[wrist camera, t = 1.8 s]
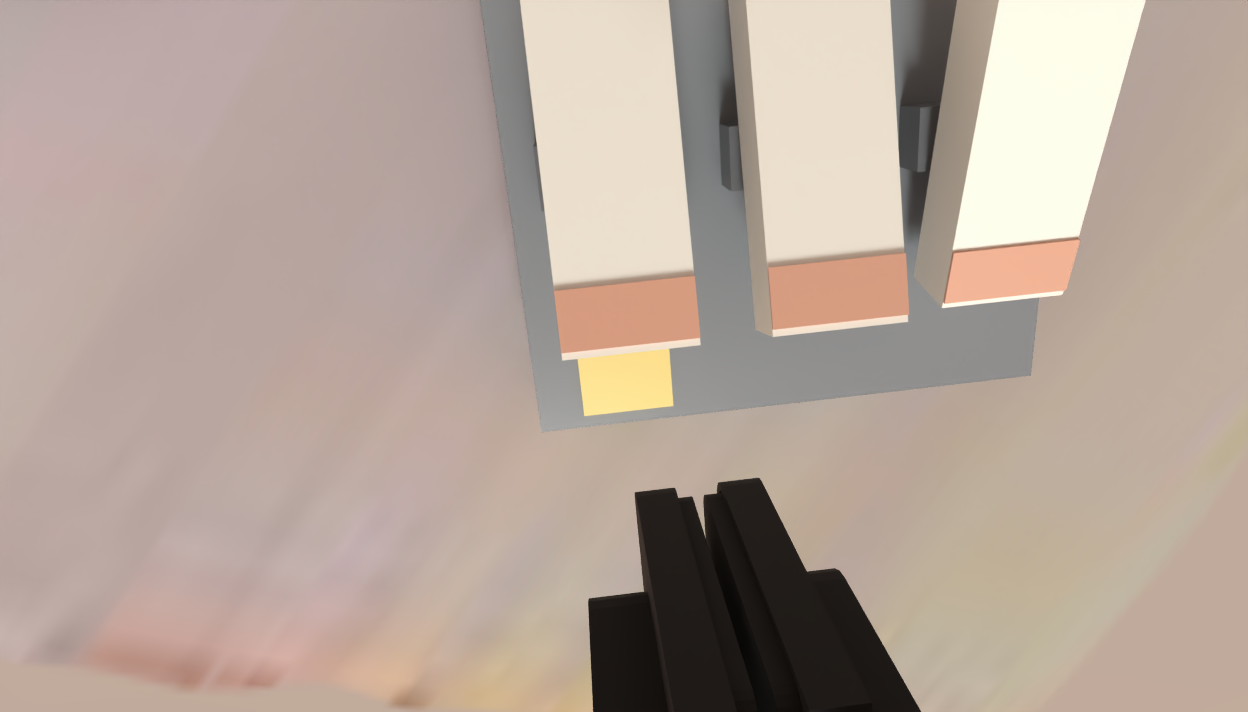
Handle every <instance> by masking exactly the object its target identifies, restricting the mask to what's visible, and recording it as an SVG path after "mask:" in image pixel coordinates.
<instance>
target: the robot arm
mask: <svg viewBox="0 0 1248 712" xmlns="http://www.w3.org/2000/svg"><path fill="white" fill-rule="evenodd" d="M635 503H636V514H637V524H638V534H639V544H640V554H641V565H642V575H643V585H644V592H638V593H630V594H622V595H614V596H606V597H598V598H590V599H589V601H588V606H589V629H590V651H591V673H592V694H593V712H921V711H920V709H919V707H918V705H917V704H916V702H915V700H914V698H913V697H912V695H911V693H910V691H909V690H908V688H907V686H906V684H905V683H904V681H903V679H902V677H901V676H900V674H899V672H898V670H897V669H896V667H895V665H894V663H893V662H892V660H891V658H890V656H889V655H888V653H887V651H886V649H885V648H884V646H883V644H882V642H881V641H880V639H879V637H878V635H877V634H876V632H875V630H874V628H873V626H872V625H871V623H870V621H869V619H868V618H867V616H866V614H865V612H864V611H863V609H862V607H861V605H860V604H859V602H858V600H857V598H856V597H855V595H854V593H853V591H852V590H851V588H850V586H849V584H848V583H847V581H846V579H845V578H844V576H843V575H842V573H841V572H840V571H839V570H837V569H835V568H834V569H825V570H817V571H809V572H807V571H806V569H805V567H804V565H803V563H802V561H801V559H800V557H799V555H798V553H797V551H796V549H795V547H794V545H793V543H792V541H791V539H790V537H789V535H788V533H787V531H786V529H785V527H784V525H783V523H782V521H781V519H780V517H779V515H778V513H777V511H776V509H775V507H774V505H773V503H772V501H771V499H770V497H769V495H768V493H767V491H766V489H765V487H764V485H763V483H762V481H761V480H760V478H753V479H744V480H736V481H727V482H719V483H718V485H717V494H709V495H704V518H705V534H706V539H705V535H704V532H703V529H702V526H701V522H700V519H699V516H698V513H697V510H696V506H695V503H694V500H693V497H684V498H678V496H677V492H676V489H675V488H668V489H659V490H651V491H643V492H635Z"/></svg>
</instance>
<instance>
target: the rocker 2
mask: <svg viewBox="0 0 1248 712" xmlns="http://www.w3.org/2000/svg"><path fill="white" fill-rule="evenodd" d="M728 4H729V16H730V28H731V40H732V53H733V65H734V77H735V89H736V101H737V113H738V125H739V137H740V149H741V161H742V173H743V185H744V197H745V209H746V221H747V233H748V245H749V257H750V269H751V281H752V293H753V306H754V318H755V330H757V331H760V332H762V333H764V334H767V335H769V336H772V337H778V336H787V335H796V334H805V333H814V332H822V331H831V330H840V329H849V328H858V327H867V326H876V325H885V324H894V323H903V322H908V315H909V298H908V281H907V263H906V253H904V238H903V220H902V202H901V185H900V167H899V149H898V131H897V113H896V96H895V78H894V60H893V42H892V24H891V6H890V0H728Z"/></svg>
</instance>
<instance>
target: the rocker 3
mask: <svg viewBox="0 0 1248 712" xmlns="http://www.w3.org/2000/svg"><path fill="white" fill-rule="evenodd" d="M1144 4H1145V0H957V3H956V10H955V16H954V22H953V29H952V35H951V41H950V48H949V54H948V61H947V67H946V73H945V80H944V86H943V92H942V99H941V105H940V111H939V118H938V124H937V130H936V137H935V143H934V150H933V156H932V162H931V169H930V175H929V181H928V188H927V194H926V200H925V207H924V213H923V219H922V226H921V232H920V238H919V245H918V251H917V258H916V264H915V270H914V277H915V279H916V280H917V281H918V282H919V283H920V284H921V285H922V286H923V288H924V289H925V290H926V291H927V292H928V293H929V294H930V295H931V296H932V298H933V299H934V300H935V301H936V302H937V303H938V304H939V305H940V307H941V308H948V307H957V306H966V305H975V304H983V303H992V302H1001V301H1010V300H1019V299H1028V298H1037V297H1046V296H1055V295H1062V294H1063V291H1064V290H1066V288H1067V285H1068V281H1069V278H1070V274H1071V271H1072V267H1073V264H1074V260H1075V257H1076V253H1077V250H1078V246H1079V243H1080V239H1078V237H1079V234H1080V230H1081V226H1082V223H1083V219H1084V216H1085V212H1086V209H1087V205H1088V202H1089V198H1090V195H1091V191H1092V188H1093V184H1094V181H1095V177H1096V173H1097V170H1098V166H1099V163H1100V159H1101V156H1102V152H1103V149H1104V145H1105V142H1106V138H1107V135H1108V131H1109V127H1110V124H1111V120H1112V117H1113V113H1114V110H1115V106H1116V103H1117V99H1118V96H1119V92H1120V89H1121V85H1122V81H1123V78H1124V74H1125V71H1126V67H1127V64H1128V60H1129V57H1130V53H1131V50H1132V46H1133V43H1134V39H1135V36H1136V32H1137V28H1138V25H1139V21H1140V18H1141V14H1142V11H1143V7H1144Z"/></svg>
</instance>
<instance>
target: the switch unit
mask: <svg viewBox="0 0 1248 712" xmlns="http://www.w3.org/2000/svg"><path fill="white" fill-rule="evenodd" d="M956 3H957V0H890V6H891V24H892V42H893V60H894V78H895V96H896V113H897V131H898V149H899V167H900V185H901V202H902V220H903V238H904V253H906V263H907V281H908V298H909V315H908V322H903V323H894V324H885V325H876V326H867V327H858V328H849V329H840V330H831V331H822V332H814V333H805V334H796V335H787V336H778V337H772V336H769V335H767V334H764V333H762V332H760V331H757V330H755V318H754V306H753V293H752V281H751V269H750V257H749V245H748V233H747V221H746V209H745V197H744V185H743V173H742V161H741V149H740V137H739V125H738V113H737V101H736V89H735V77H734V65H733V53H732V40H731V28H730V16H729V4H728V0H669V9H670V20H671V31H672V42H673V52H674V63H675V74H676V85H677V95H678V106H679V117H680V128H681V138H682V149H683V160H684V171H685V182H686V192H687V203H688V214H689V225H690V235H691V246H692V257H693V268H694V276H695V283H696V294H697V305H698V315H699V326H700V337H701V338H700V343H701V345H698V346H689V347H680V348H671V349H662V350H653V351H644V352H635V353H626V354H617V355H609V356H600V357H591V358H582V359H573V360H564V361H562V354H561V347H560V339H559V330H558V322H557V313H556V305H555V296H554V286H553V278H552V269H551V261H550V252H549V244H548V235H547V227H546V218H545V210H544V201H543V193H542V184H541V176H540V167H539V159H538V150H537V142H536V133H535V125H534V116H533V108H532V99H531V91H530V82H529V74H528V65H527V57H526V48H525V40H524V31H523V23H522V14H521V6H520V0H480V4H481V11H482V18H483V25H484V32H485V39H486V46H487V53H488V60H489V67H490V74H491V81H492V88H493V95H494V102H495V109H496V116H497V123H498V130H499V137H500V144H501V151H502V158H503V165H504V172H505V179H506V186H507V193H508V200H509V207H510V214H511V221H512V228H513V235H514V242H515V249H516V256H517V263H518V270H519V277H520V285H521V292H522V299H523V306H524V313H525V320H526V327H527V334H528V341H529V348H530V355H531V362H532V369H533V376H534V383H535V390H536V397H537V404H538V411H539V418H540V425H541V432H548V431H557V430H565V429H574V428H583V427H591V426H600V425H608V424H617V423H626V422H634V421H643V420H651V419H660V418H669V417H677V416H686V415H695V414H703V413H712V412H720V411H729V410H738V409H746V408H755V407H764V406H772V405H781V404H789V403H798V402H807V401H815V400H824V399H833V398H841V397H850V396H858V395H867V394H876V393H884V392H893V391H902V390H910V389H919V388H927V387H936V386H945V385H953V384H962V383H971V382H979V381H988V380H996V379H1005V378H1014V377H1022V376H1031V368H1032V359H1033V349H1034V340H1035V331H1036V321H1037V312H1038V302H1039V297H1037V298H1028V299H1019V300H1010V301H1001V302H992V303H983V304H975V305H966V306H957V307H948V308H941V307H940V305H939V304H938V303H937V302H936V301H935V300H934V299H933V298H932V296H931V295H930V294H929V293H928V292H927V291H926V290H925V289H924V288H923V286H922V285H921V284H920V283H919V282H918V281H917V280H916V279H915V277H914V270H915V264H916V258H917V251H918V245H919V238H920V232H921V226H922V219H923V213H924V207H925V200H926V194H927V188H928V181H929V175H930V169H931V162H932V156H933V150H934V143H935V137H936V130H937V124H938V118H939V111H940V105H941V99H942V92H943V86H944V80H945V73H946V67H947V61H948V54H949V48H950V41H951V35H952V29H953V22H954V16H955V10H956Z"/></svg>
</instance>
